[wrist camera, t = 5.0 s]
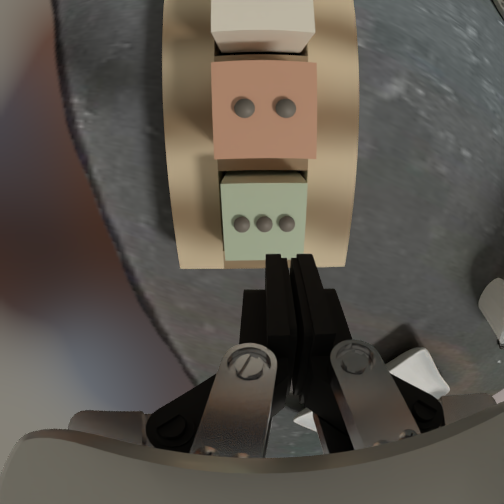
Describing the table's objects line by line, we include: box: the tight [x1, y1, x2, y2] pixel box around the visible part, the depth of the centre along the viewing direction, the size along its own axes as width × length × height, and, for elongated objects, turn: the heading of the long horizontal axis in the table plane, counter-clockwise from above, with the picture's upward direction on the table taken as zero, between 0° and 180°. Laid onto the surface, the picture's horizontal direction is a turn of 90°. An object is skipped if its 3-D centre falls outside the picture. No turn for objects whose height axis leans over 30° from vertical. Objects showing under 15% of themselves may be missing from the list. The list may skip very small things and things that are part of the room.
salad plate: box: [293, 347, 450, 431], centre depth 35 cm, size 21×21×3 cm
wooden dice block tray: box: [162, 0, 359, 269], centre depth 17 cm, size 23×13×3 cm, turn 1°
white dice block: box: [211, 0, 315, 53], centre depth 11 cm, size 5×5×5 cm
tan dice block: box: [211, 60, 317, 160], centre depth 14 cm, size 5×5×5 cm
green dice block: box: [221, 170, 308, 261], centre depth 19 cm, size 5×5×5 cm
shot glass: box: [478, 278, 504, 344], centre depth 24 cm, size 7×7×7 cm
